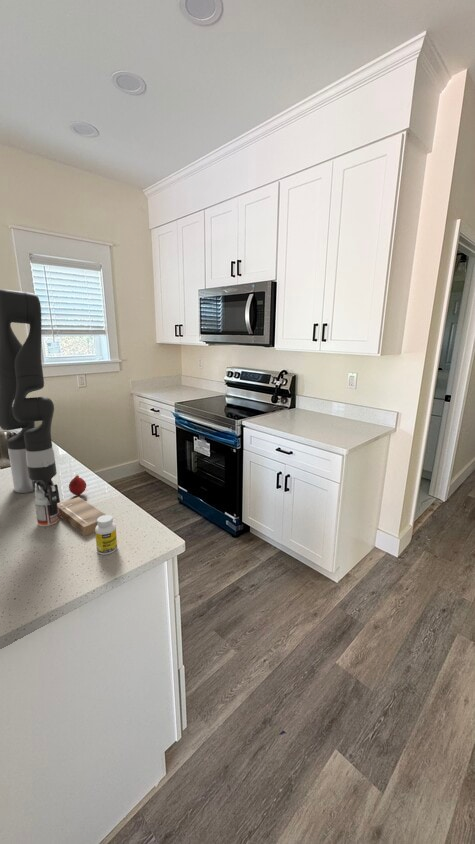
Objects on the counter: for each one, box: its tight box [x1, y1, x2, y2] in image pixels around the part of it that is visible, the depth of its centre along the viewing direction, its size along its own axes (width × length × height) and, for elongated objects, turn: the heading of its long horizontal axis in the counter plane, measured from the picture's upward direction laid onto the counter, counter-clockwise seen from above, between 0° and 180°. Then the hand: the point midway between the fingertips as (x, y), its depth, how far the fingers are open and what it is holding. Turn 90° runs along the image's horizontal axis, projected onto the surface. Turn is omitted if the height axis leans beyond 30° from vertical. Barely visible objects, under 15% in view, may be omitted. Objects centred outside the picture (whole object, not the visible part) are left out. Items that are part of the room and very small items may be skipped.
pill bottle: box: [34, 489, 60, 527], centre depth 111 cm, size 6×6×11 cm
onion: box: [68, 474, 87, 497], centre depth 129 cm, size 6×6×8 cm
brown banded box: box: [57, 496, 106, 537], centre depth 114 cm, size 20×8×3 cm, turn 49°
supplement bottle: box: [94, 514, 118, 556], centre depth 98 cm, size 5×5×10 cm
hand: (47, 510), depth 111 cm, fingers open, 8 cm apart
